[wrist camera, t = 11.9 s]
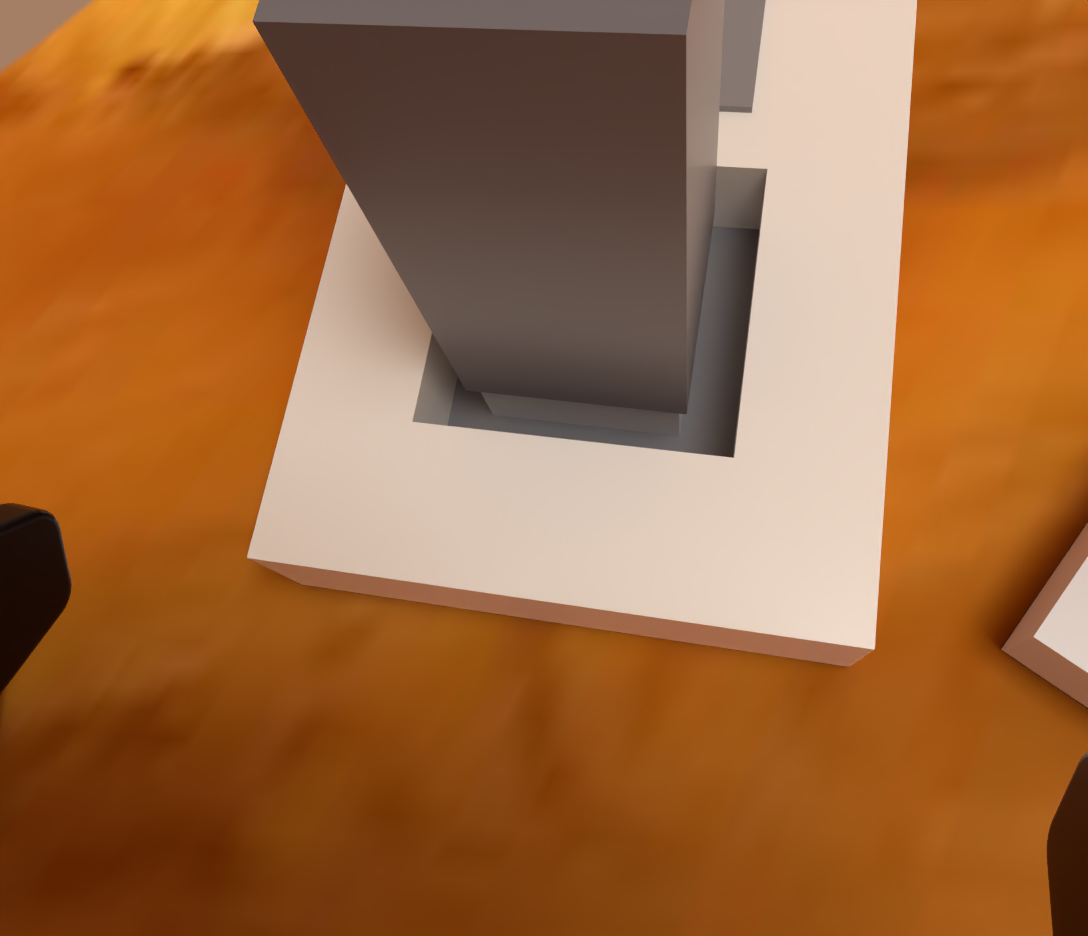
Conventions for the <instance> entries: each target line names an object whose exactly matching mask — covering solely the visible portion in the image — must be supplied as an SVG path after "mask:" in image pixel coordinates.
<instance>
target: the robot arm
mask: <svg viewBox="0 0 1088 936" xmlns="http://www.w3.org/2000/svg"><path fill="white" fill-rule="evenodd" d="M70 594H71V578H70V573H69V568H68V563H67V559H66V554H65V549H64V544H63V540H62V535H61V530H60V526H59V523H58V521H57V520H56V518H55V517H54V516H53V514H51V513H49V512H48V511H46V510H42V509H38V508H34V507H29V506H25V505H20V504H15V503H7V504H1V505H0V694H1V693H2V691H3V690H4V689H5V687H6V686H7V685H8V683H9V682H10V681H11V679H12V678H13V677H14V675H15V674H16V673H17V671H18V670H19V669H20V667H21V666H22V665H23V663H24V662H25V661H26V659H27V658H28V657H29V655H30V654H31V653H32V652H33V650H34V649H35V648H36V646H37V645H38V644H39V642H40V641H41V640H42V638H43V637H44V636H45V634H46V633H47V632H48V630H49V629H50V628H51V626H52V625H53V624H54V622H55V621H56V620H57V618H58V617H59V616H60V614H61V613H62V612H63V610H64V609H65V607H66V605H67V603H68V600H69V597H70ZM1047 865H1048V878H1049V891H1050V904H1051V916H1052V929H1053V936H1088V752H1087V753H1086V754H1085V755H1084V756H1083V757H1082V758H1081V760H1080V762H1079V764H1078V766H1077V768H1076V770H1075V772H1074V774H1073V777H1072V779H1071V781H1070V783H1069V785H1068V788H1067V790H1066V792H1065V794H1064V796H1063V798H1062V801H1061V803H1060V805H1059V807H1058V809H1057V812H1056V814H1055V816H1054V818H1053V820H1052V823H1051V826H1050V829H1049V833H1048V840H1047Z"/></svg>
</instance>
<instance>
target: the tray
mask: <svg viewBox="0 0 1088 936" xmlns="http://www.w3.org/2000/svg"><path fill="white" fill-rule="evenodd" d="M1001 650H1002V651H1004V652H1005V653H1007V654H1008V655H1010V656H1011V657H1013V658H1014V659H1016V660H1017V661H1019V662H1020V663H1022V664H1023V665H1024V666H1026V667H1027V668H1029V669H1030V670H1032V671H1033V672H1035V673H1036V674H1038V675H1039V676H1041V677H1042V678H1044V679H1045V680H1047V681H1048V682H1050V683H1051V684H1053V685H1054V686H1056V687H1057V688H1059V689H1060V690H1061V691H1063V692H1064V693H1066V694H1067V695H1069V696H1070V697H1072V698H1073V699H1075V700H1076V701H1078V702H1079V703H1081V704H1082V705H1084V706H1085V707H1087V708H1088V523H1087V524H1086V526H1085V527H1084V529H1083V530H1082V532H1081V533H1080V534H1079V536H1078V537H1077V539H1076V540H1075V542H1074V543H1073V545H1072V546H1071V548H1070V549H1069V551H1068V552H1067V554H1066V555H1065V556H1064V558H1063V559H1062V561H1061V562H1060V564H1059V565H1058V567H1057V568H1056V570H1055V571H1054V573H1053V574H1052V576H1051V577H1050V578H1049V580H1048V581H1047V583H1046V584H1045V586H1044V587H1043V589H1042V590H1041V592H1040V593H1039V595H1038V596H1037V598H1036V599H1035V600H1034V602H1033V603H1032V605H1031V606H1030V608H1029V609H1028V611H1027V612H1026V614H1025V615H1024V617H1023V618H1022V620H1021V621H1020V622H1019V624H1018V625H1017V627H1016V628H1015V630H1014V631H1013V633H1012V634H1011V636H1010V637H1009V639H1008V640H1007V642H1006V643H1005V644H1004V646H1003V647H1002V649H1001Z"/></svg>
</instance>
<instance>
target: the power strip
mask: <svg viewBox="0 0 1088 936" xmlns="http://www.w3.org/2000/svg"><path fill="white" fill-rule="evenodd" d="M916 8H917V0H725V3H724V24H723V45H722V65H721V86H720V107H719V127H718V148H717V169H716V190H715V210H714V220H713V228H712V235H711V242H710V249H709V257H708V264H707V271H706V279H705V286H704V293H703V300H702V308H701V315H700V322H699V329H698V337H697V344H696V351H695V358H694V366H693V373H692V380H691V388H690V395H689V402H688V409H687V414H683V415H682V422H681V429H680V436H672V435H664V434H655V433H646V432H637V431H628V430H619V429H610V428H602V427H593V426H584V425H575V424H566V423H557V422H549V421H540V420H531V419H522V418H513V417H504V416H495V415H493V414H492V412H491V410H490V408H489V407H488V405H487V403H486V401H485V399H484V397H483V395H482V394H481V392H475V391H466V390H465V388H464V387H463V385H462V383H461V381H460V380H459V378H458V376H457V374H456V373H455V371H454V369H453V368H452V366H451V364H450V362H449V361H448V359H447V357H446V355H445V354H444V352H443V350H442V348H441V347H440V345H439V343H438V342H437V340H436V338H435V336H434V335H433V333H432V331H431V329H430V328H429V326H428V324H427V323H426V321H425V319H424V317H423V316H422V314H421V312H420V310H419V309H418V307H417V305H416V303H415V302H414V300H413V298H412V297H411V295H410V293H409V291H408V290H407V288H406V286H405V284H404V283H403V281H402V279H401V277H400V276H399V274H398V272H397V271H396V269H395V267H394V265H393V264H392V262H391V260H390V258H389V257H388V255H387V253H386V251H385V250H384V248H383V246H382V245H381V243H380V241H379V239H378V238H377V236H376V234H375V232H374V231H373V229H372V227H371V226H370V224H369V222H368V220H367V219H366V217H365V215H364V213H363V212H362V210H361V208H360V206H359V205H358V203H357V201H356V200H355V198H354V196H353V194H352V193H351V191H350V189H349V187H348V186H347V184H346V186H345V190H344V194H343V198H342V202H341V205H340V209H339V213H338V217H337V220H336V224H335V228H334V232H333V235H332V239H331V243H330V247H329V250H328V254H327V258H326V262H325V265H324V269H323V273H322V277H321V280H320V284H319V288H318V292H317V296H316V299H315V303H314V307H313V311H312V314H311V318H310V322H309V326H308V329H307V333H306V337H305V341H304V344H303V348H302V352H301V356H300V359H299V363H298V367H297V371H296V374H295V378H294V382H293V386H292V390H291V393H290V397H289V401H288V405H287V408H286V412H285V416H284V420H283V423H282V427H281V431H280V435H279V438H278V442H277V446H276V450H275V453H274V457H273V461H272V465H271V468H270V472H269V476H268V480H267V484H266V487H265V491H264V495H263V499H262V502H261V506H260V510H259V514H258V517H257V521H256V525H255V529H254V532H253V536H252V540H251V544H250V547H249V551H248V555H247V558H248V559H250V560H252V561H254V562H256V563H258V564H260V565H262V566H264V567H266V568H269V569H271V570H273V571H275V572H277V573H279V574H281V575H283V576H285V577H287V578H289V579H291V580H293V581H295V582H297V583H299V584H301V585H308V586H315V587H321V588H328V589H334V590H341V591H348V592H354V593H361V594H368V595H374V596H381V597H388V598H394V599H401V600H408V601H414V602H421V603H428V604H434V605H441V606H448V607H454V608H461V609H468V610H474V611H481V612H487V613H494V614H501V615H507V616H514V617H521V618H527V619H534V620H541V621H547V622H554V623H561V624H567V625H574V626H581V627H587V628H594V629H601V630H607V631H614V632H620V633H627V634H634V635H640V636H647V637H654V638H660V639H667V640H674V641H680V642H687V643H694V644H700V645H707V646H714V647H720V648H727V649H734V650H740V651H747V652H754V653H760V654H767V655H773V656H780V657H787V658H793V659H800V660H807V661H813V662H820V663H827V664H833V665H840V666H847V667H849V666H851V665H852V664H854V663H855V662H857V661H858V660H860V659H861V658H863V657H864V656H866V655H867V654H869V653H870V652H872V651H873V650H874V649H875V634H876V619H877V604H878V588H879V573H880V558H881V543H882V527H883V512H884V497H885V482H886V466H887V451H888V436H889V420H890V405H891V390H892V375H893V359H894V344H895V329H896V314H897V298H898V283H899V268H900V252H901V237H902V222H903V207H904V191H905V176H906V161H907V146H908V130H909V115H910V100H911V84H912V69H913V54H914V39H915V23H916Z"/></svg>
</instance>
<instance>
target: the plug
mask: <svg viewBox="0 0 1088 936" xmlns="http://www.w3.org/2000/svg"><path fill="white" fill-rule="evenodd" d="M724 3H725V0H259V3H258V6H257V9H256V13H255V16H254V19H253V23H254V25H255V26H256V28H257V30H258V32H259V33H260V35H261V37H262V38H263V40H264V42H265V44H266V45H267V47H268V49H269V51H270V52H271V54H272V56H273V58H274V59H275V61H276V63H277V64H278V66H279V68H280V70H281V71H282V73H283V75H284V77H285V78H286V80H287V82H288V83H289V85H290V87H291V89H292V90H293V92H294V94H295V96H296V97H297V99H298V101H299V103H300V104H301V106H302V108H303V109H304V111H305V113H306V115H307V116H308V118H309V120H310V122H311V123H312V125H313V127H314V129H315V130H316V132H317V134H318V135H319V137H320V139H321V141H322V142H323V144H324V146H325V148H326V149H327V151H328V153H329V155H330V156H331V158H332V160H333V161H334V163H335V165H336V167H337V168H338V170H339V172H340V174H341V175H342V177H343V179H344V180H345V182H346V184H347V186H348V187H349V189H350V191H351V193H352V194H353V196H354V198H355V200H356V201H357V203H358V205H359V206H360V208H361V210H362V212H363V213H364V215H365V217H366V219H367V220H368V222H369V224H370V226H371V227H372V229H373V231H374V232H375V234H376V236H377V238H378V239H379V241H380V243H381V245H382V246H383V248H384V250H385V251H386V253H387V255H388V257H389V258H390V260H391V262H392V264H393V265H394V267H395V269H396V271H397V272H398V274H399V276H400V277H401V279H402V281H403V283H404V284H405V286H406V288H407V290H408V291H409V293H410V295H411V297H412V298H413V300H414V302H415V303H416V305H417V307H418V309H419V310H420V312H421V314H422V316H423V317H424V319H425V321H426V323H427V324H428V326H429V328H430V329H431V331H432V333H433V335H434V336H435V338H436V340H437V342H438V343H439V345H440V347H441V348H442V350H443V352H444V354H445V355H446V357H447V359H448V361H449V362H450V364H451V366H452V368H453V369H454V371H455V373H456V374H457V376H458V378H459V380H460V381H461V383H462V385H463V387H464V388H465V390H466V391H475V392H481V394H482V395H483V397H484V399H485V401H486V403H487V405H488V407H489V408H490V410H491V412H492V414H493V415H495V416H504V417H513V418H522V419H531V420H540V421H549V422H557V423H566V424H575V425H584V426H593V427H602V428H610V429H619V430H628V431H637V432H646V433H655V434H664V435H672V436H680V429H681V422H682V415H683V414H687V409H688V402H689V395H690V388H691V380H692V373H693V366H694V358H695V351H696V344H697V337H698V329H699V322H700V315H701V308H702V300H703V293H704V286H705V279H706V271H707V264H708V257H709V249H710V242H711V235H712V228H713V220H714V210H715V190H716V169H717V148H718V127H719V107H720V86H721V65H722V45H723V24H724Z"/></svg>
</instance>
